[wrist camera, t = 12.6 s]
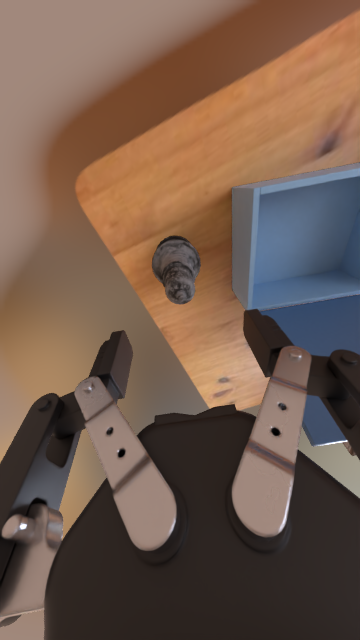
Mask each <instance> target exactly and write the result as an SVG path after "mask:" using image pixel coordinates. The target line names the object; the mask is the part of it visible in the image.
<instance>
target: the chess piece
mask: <svg viewBox="0 0 360 640" xmlns="http://www.w3.org/2000/svg"><path fill="white" fill-rule="evenodd" d="M200 266H201V264H200V257H199V254H198V252H197V250H196V249H195V248H194V247H193V246H192V245H191V244H190V242H189V241H188V240H186V239H185V238H183V237H181V236H170V237H167V238H165V239H164V240H163V241H161V242H160V244H159V245H158V247H157V250H156V252H155V253H154V256H153V259H152V268H153V272H154V274H155V276H156V278H157V279H158V280H159V281H160V282H161V283H163V285H164V287H165V292H166V295H167V297H168V299H169V300H170V301H171V302H173V303H175V304H185V303H188V302H189V301H190V300H191V299H192V298H193V296H194V293H195V285H194V282H195V278H196V277H197V275H198V273H199V270H200Z"/></svg>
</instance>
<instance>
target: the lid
mask: <svg viewBox="0 0 360 640" xmlns="http://www.w3.org/2000/svg"><path fill="white" fill-rule="evenodd" d="M259 312H260V313H261V314H262V315H268V316H269V317H271V318H273V319H274V320H275V321H276V323H277V324H278V325H279V327H280V328H281V330H283V332H284V333H285V334H286V335H287V337H288V338H289V339H290V340H291V342H292V343H293V344H294V345H295V346H298V347H301V348H303V349H305V350H306V351H308V352H309V353H310V355H318V356H329V357H330V355H331V353H332V352H333V351H335V350H339V349H343V350H349V351H352V352H355V353H357V354H359V355H360V294H359V295H353V296H347V297H341V298H335V299H330V300H324V301H318V302H312V303H306V304H300V305H294V306H288V307H283V308H277V309H271V310H265V311H259ZM302 427H303V429H304V431H305V433H306V435H307V437H308V439H309V441H310V443H311V445H312V446H320V445H327V444H334V443H341V442H348V441H347V440H346V438H345V436H344V435H343V433H342V432H341V430H340V429H339V427H338V426H337V424H336V422H335V421H334V419H333V418H332V416H331V415H330V413H329V412H328V410H327V408H326V407H325V405H324V404H323V402H322V401H321V399H320V398H319V396H312V395H307V398H306V404H305V409H304V415H303V421H302Z"/></svg>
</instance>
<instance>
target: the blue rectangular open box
mask: <svg viewBox="0 0 360 640" xmlns="http://www.w3.org/2000/svg"><path fill="white" fill-rule="evenodd" d="M232 290H233V292H234V293H235V295H236V297H237V298H238V300H239V301H240V303H241V304H242V306H243V307H244V309H245V310H251V309H258V310H259V311H262V310H268V309H273V308H279V307H285V306H291V305H297V304H303V303H309V302H315V301H320V300H326V299H332V298H338V297H344V296H350V295H356V294H360V162H359V163H354V164H348V165H343V166H338V167H333V168H328V169H323V170H318V171H313V172H307V173H302V174H297V175H292V176H287V177H282V178H277V179H271V180H266V181H261V182H256V183H251V184H246V185H241V186H236V187H232Z"/></svg>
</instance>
